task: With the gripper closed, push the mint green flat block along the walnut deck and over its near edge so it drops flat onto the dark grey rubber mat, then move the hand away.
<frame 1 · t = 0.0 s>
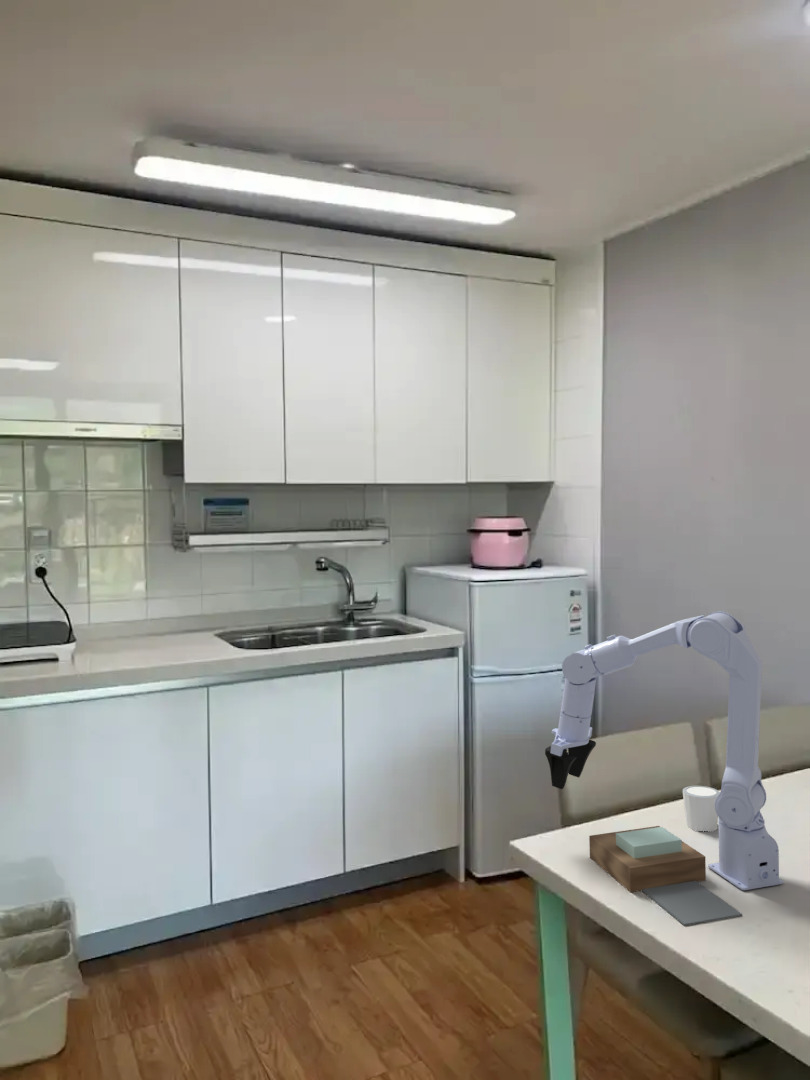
hand: (566, 781, 158), 11 cm above the table, tool pointing down, fingers open, 7 cm apart
mint green flat block: (648, 847, 142), point 4 cm above the table, touching deck
mat: (690, 903, 131), on the table
white short cylinder: (701, 827, 161), on the table
deck: (645, 868, 143), on the table
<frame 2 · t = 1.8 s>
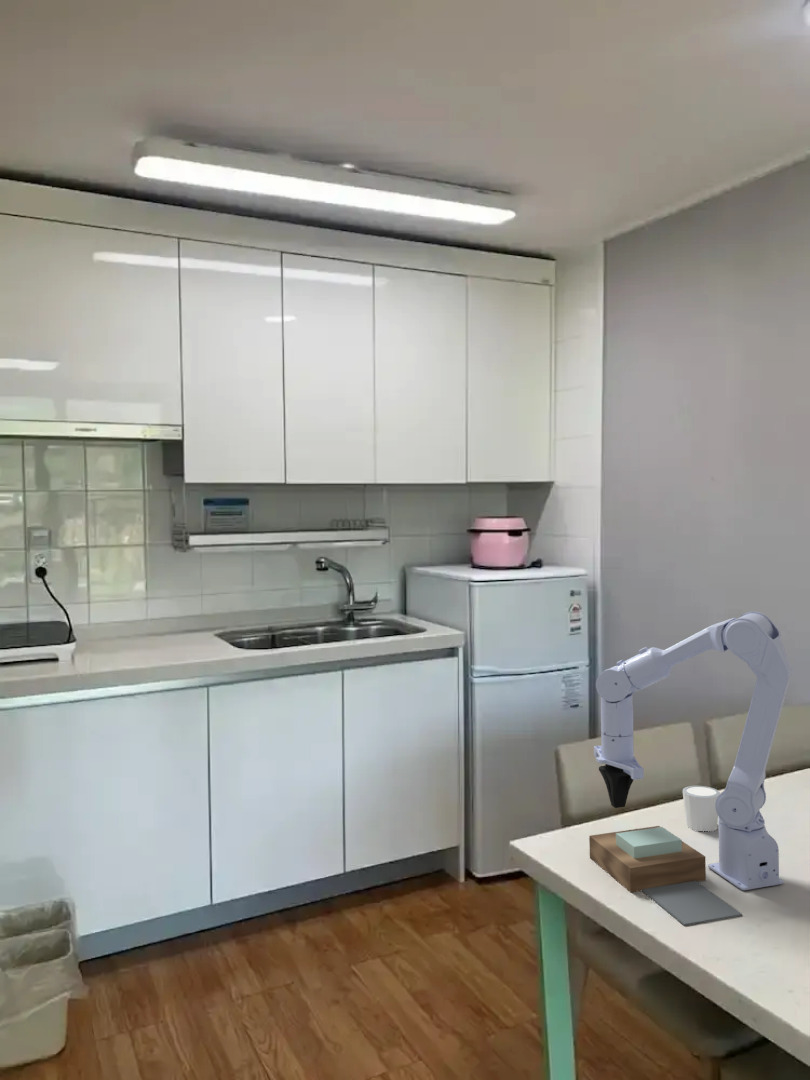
hand: (618, 806, 152), 8 cm above the table, tool pointing down, fingers closed
nothing on the table moved.
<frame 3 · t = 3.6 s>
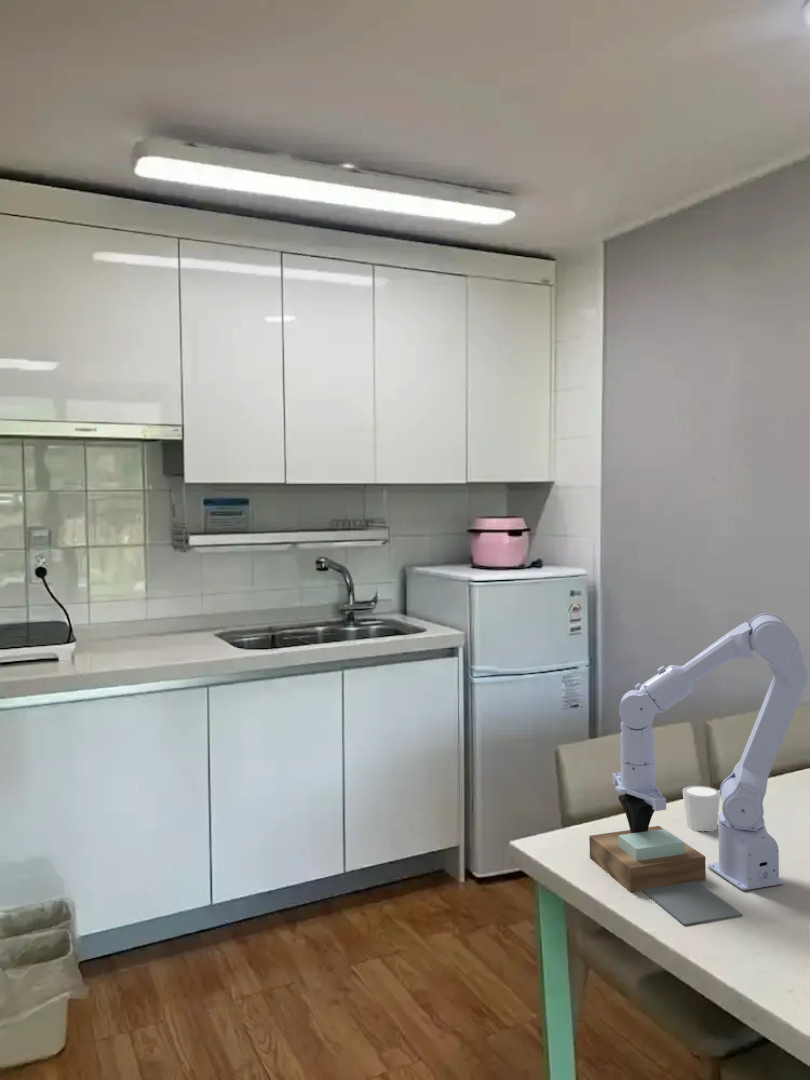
hand: (639, 837, 145), 5 cm above the table, tool pointing down, fingers closed
mint green flat block: (651, 850, 141), point 4 cm above the table, touching deck, gripper
everything else where it was.
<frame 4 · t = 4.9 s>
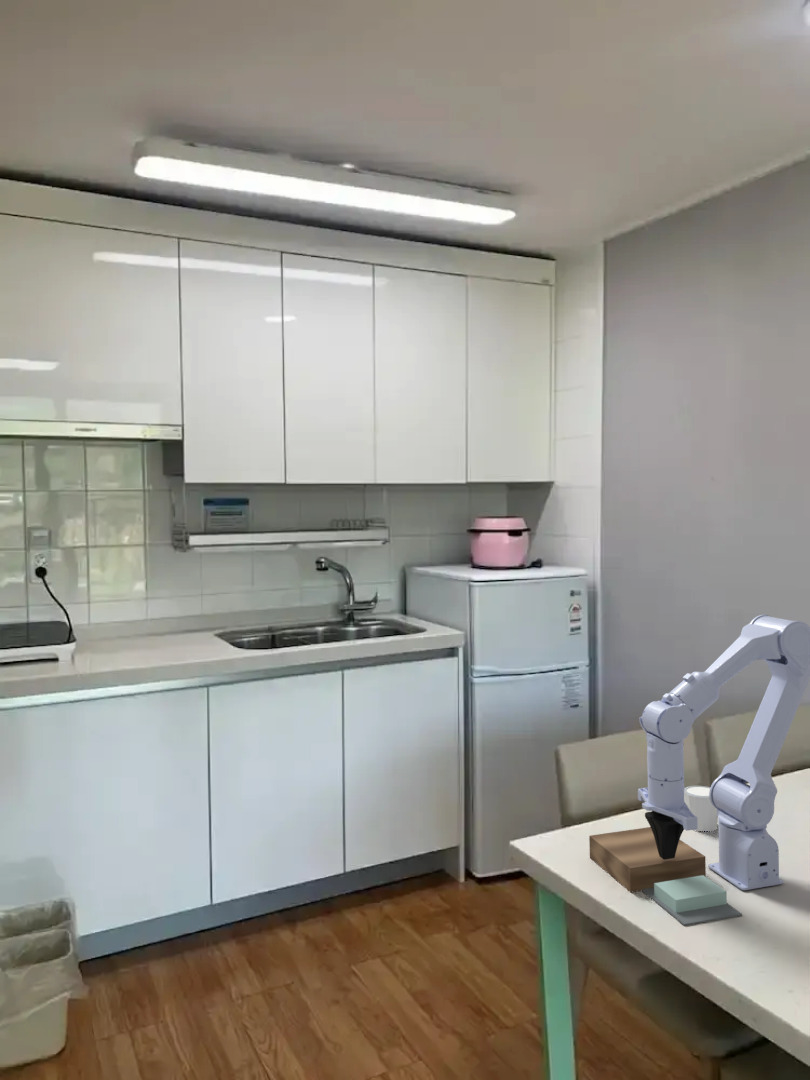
hand: (667, 857, 137), 5 cm above the table, tool pointing down, fingers closed
mint green flat block: (689, 887, 131), point 2 cm above the table, tilted 180°, touching mat
everything else where it was.
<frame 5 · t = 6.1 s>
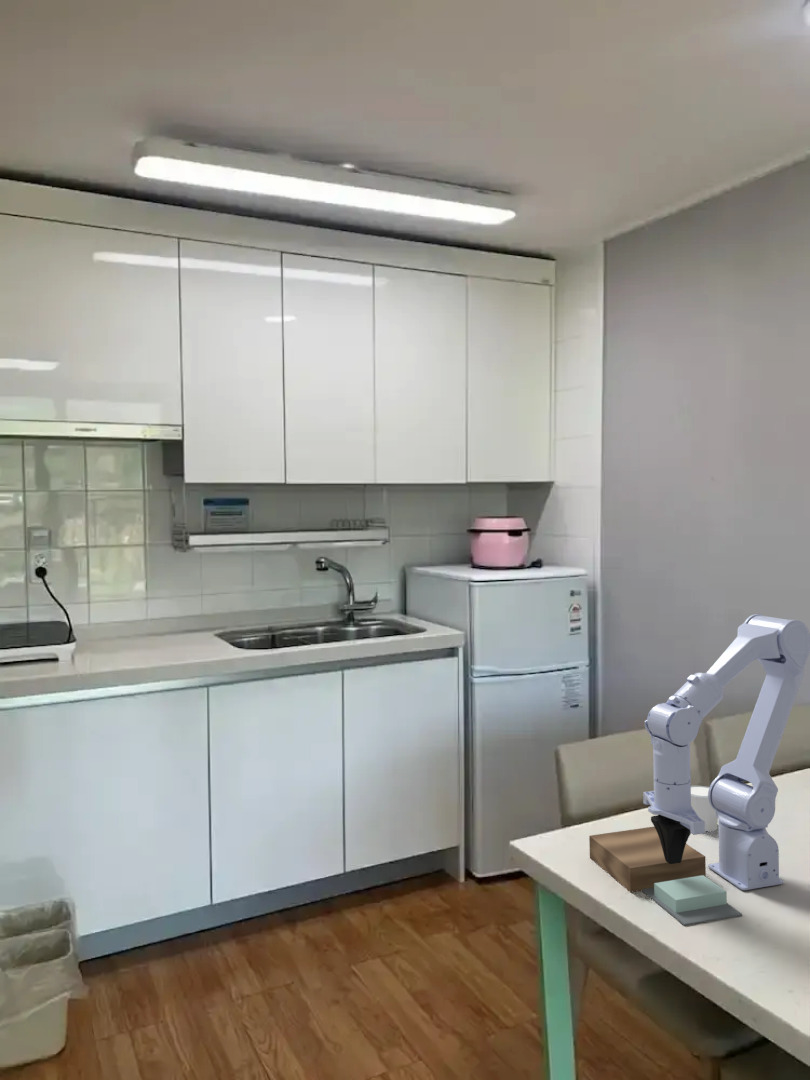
hand: (673, 861, 135), 5 cm above the table, tool pointing down, fingers closed
nothing on the table moved.
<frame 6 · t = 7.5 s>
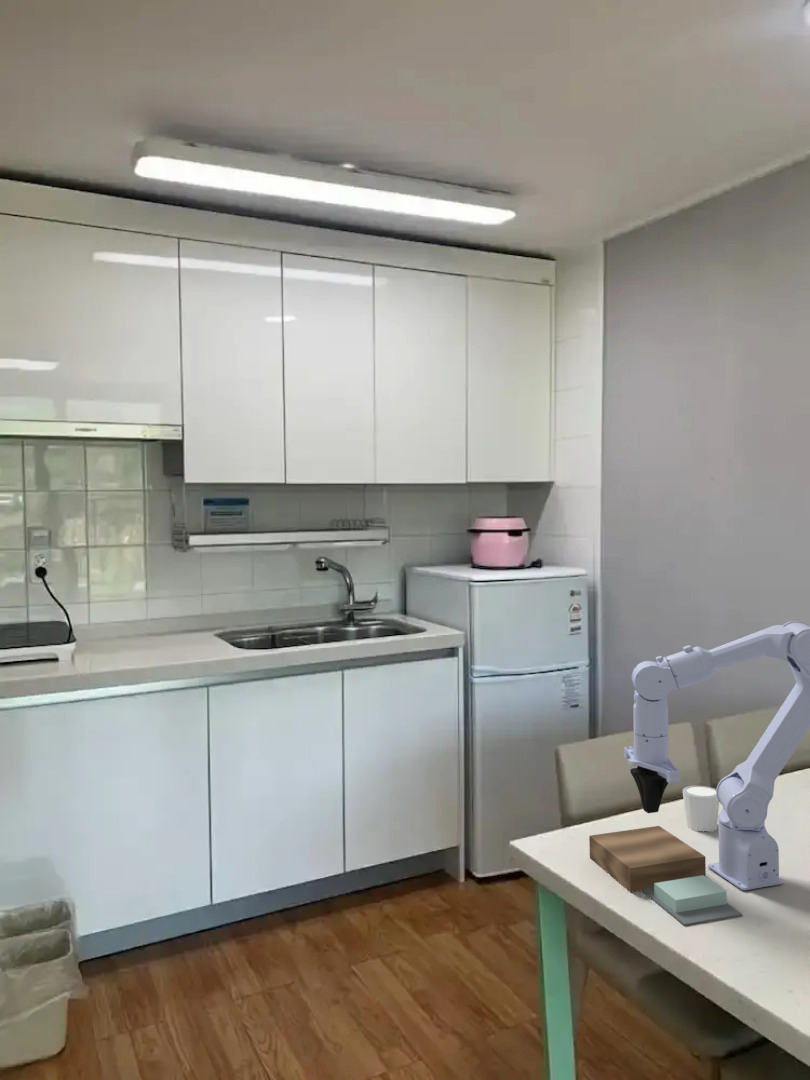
hand: (651, 811, 142), 10 cm above the table, tool pointing down, fingers closed
nothing on the table moved.
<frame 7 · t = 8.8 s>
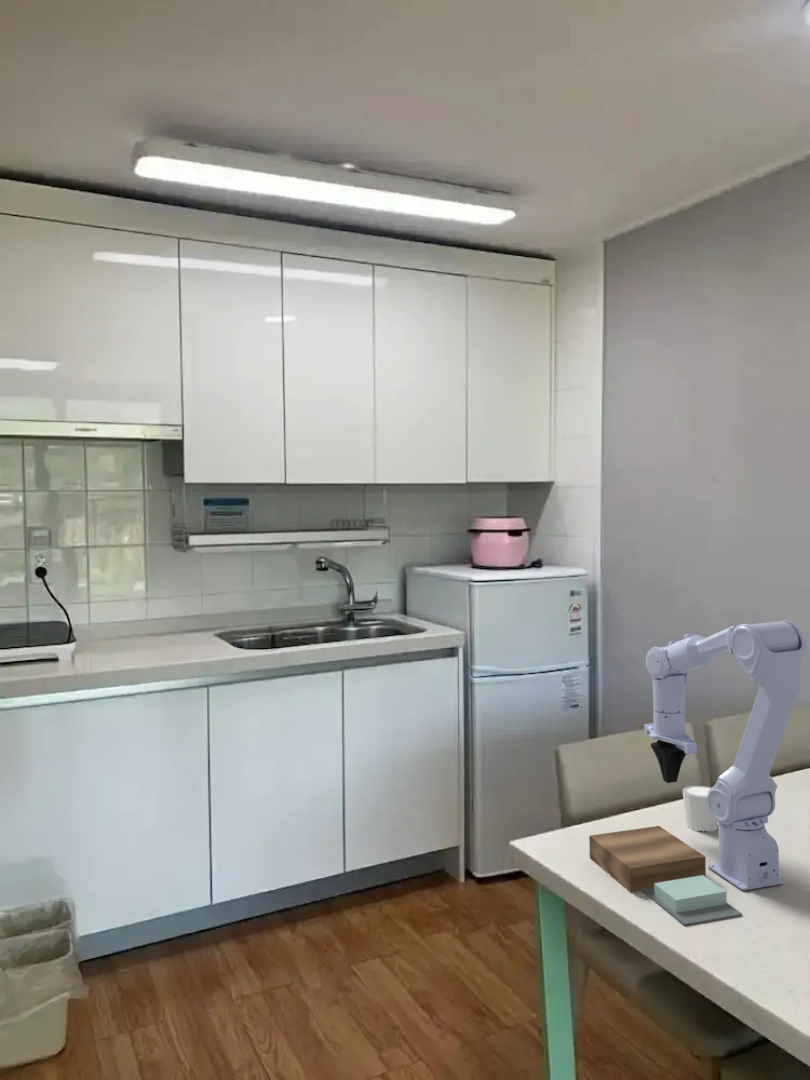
hand: (670, 781, 156), 10 cm above the table, tool pointing down, fingers closed
nothing on the table moved.
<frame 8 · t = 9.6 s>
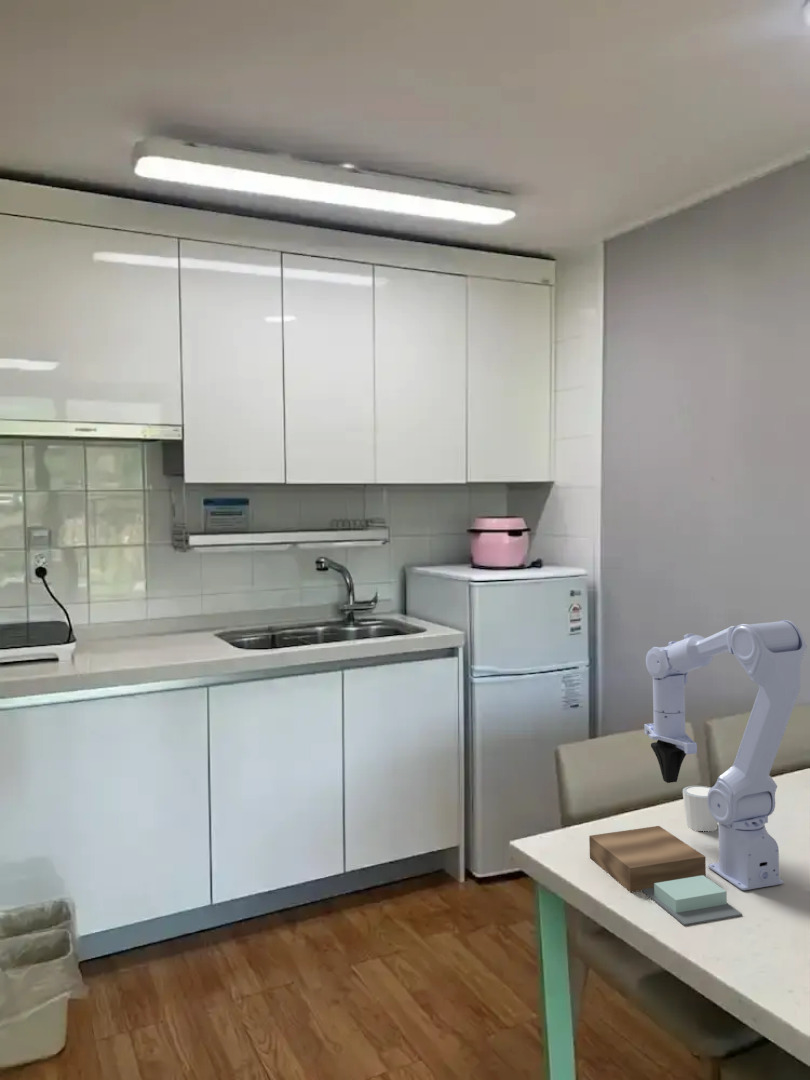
hand: (670, 781, 156), 10 cm above the table, tool pointing down, fingers closed
nothing on the table moved.
at the end: mint green flat block point 2.3 cm above the table; mint green flat block inside the target area on the mat (0.4 cm from its centre), point 2.3 cm above the mat's base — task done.
